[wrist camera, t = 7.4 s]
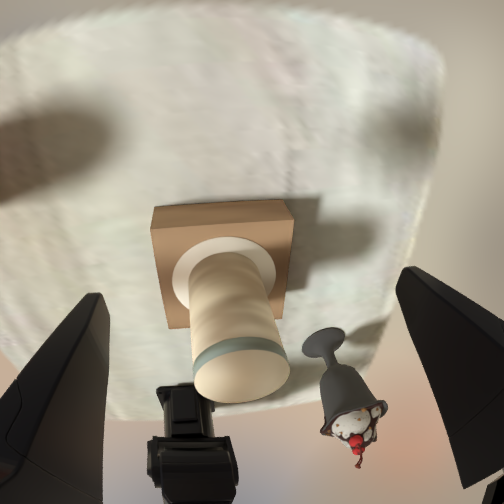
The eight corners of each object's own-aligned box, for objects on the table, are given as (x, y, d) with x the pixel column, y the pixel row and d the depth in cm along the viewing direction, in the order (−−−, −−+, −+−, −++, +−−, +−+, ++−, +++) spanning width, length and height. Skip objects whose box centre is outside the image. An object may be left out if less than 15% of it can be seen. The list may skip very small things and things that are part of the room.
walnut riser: (273, 293, 28) (282, 319, 25) (169, 302, 27) (169, 330, 24) (282, 199, 23) (294, 220, 20) (154, 207, 21) (149, 230, 19)
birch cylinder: (262, 249, 21) (296, 344, 15) (258, 304, 24) (284, 396, 18) (184, 254, 20) (188, 356, 14) (191, 311, 23) (198, 407, 17)
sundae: (296, 327, 31) (346, 467, 19) (357, 317, 32) (418, 440, 20) (290, 365, 35) (327, 485, 23) (344, 355, 36) (391, 464, 24)
